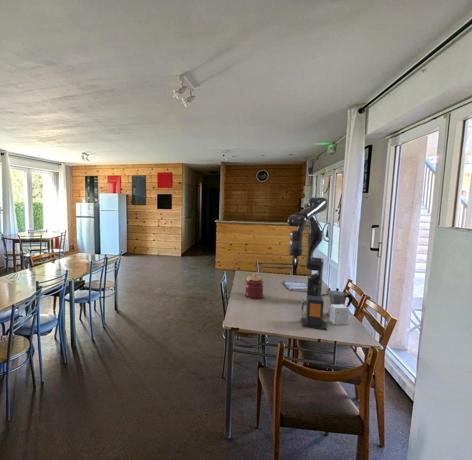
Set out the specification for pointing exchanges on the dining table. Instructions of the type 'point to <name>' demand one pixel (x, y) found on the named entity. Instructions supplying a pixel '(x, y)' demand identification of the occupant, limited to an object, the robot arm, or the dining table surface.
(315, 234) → the robot arm
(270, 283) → the dining table surface
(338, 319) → the small box
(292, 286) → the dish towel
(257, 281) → the kitchen canister
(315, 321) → the dispenser
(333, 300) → the coffeepot
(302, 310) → the push plate
